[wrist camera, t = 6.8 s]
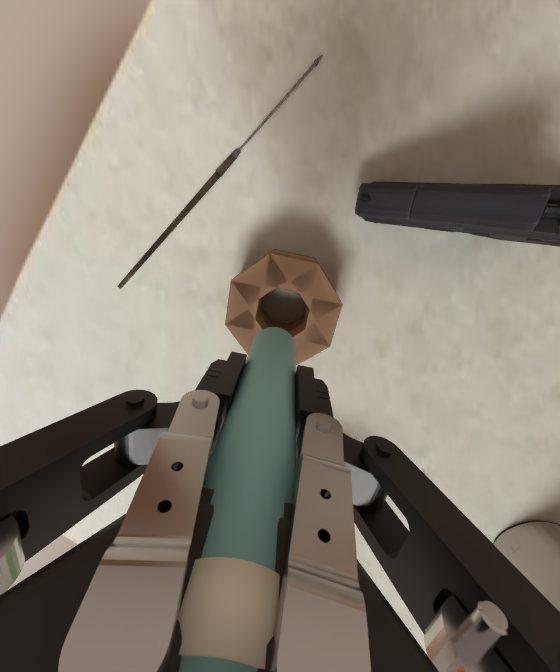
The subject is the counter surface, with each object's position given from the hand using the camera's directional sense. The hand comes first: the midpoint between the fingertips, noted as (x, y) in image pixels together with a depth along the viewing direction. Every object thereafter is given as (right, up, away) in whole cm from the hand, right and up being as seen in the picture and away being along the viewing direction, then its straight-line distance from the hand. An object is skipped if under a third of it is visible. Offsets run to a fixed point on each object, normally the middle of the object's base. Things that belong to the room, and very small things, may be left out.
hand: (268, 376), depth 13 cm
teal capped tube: (0, +1, +3) cm, 4 cm away
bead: (+1, +5, +13) cm, 14 cm away
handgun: (+14, +12, +10) cm, 21 cm away
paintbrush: (-6, +14, +10) cm, 18 cm away
